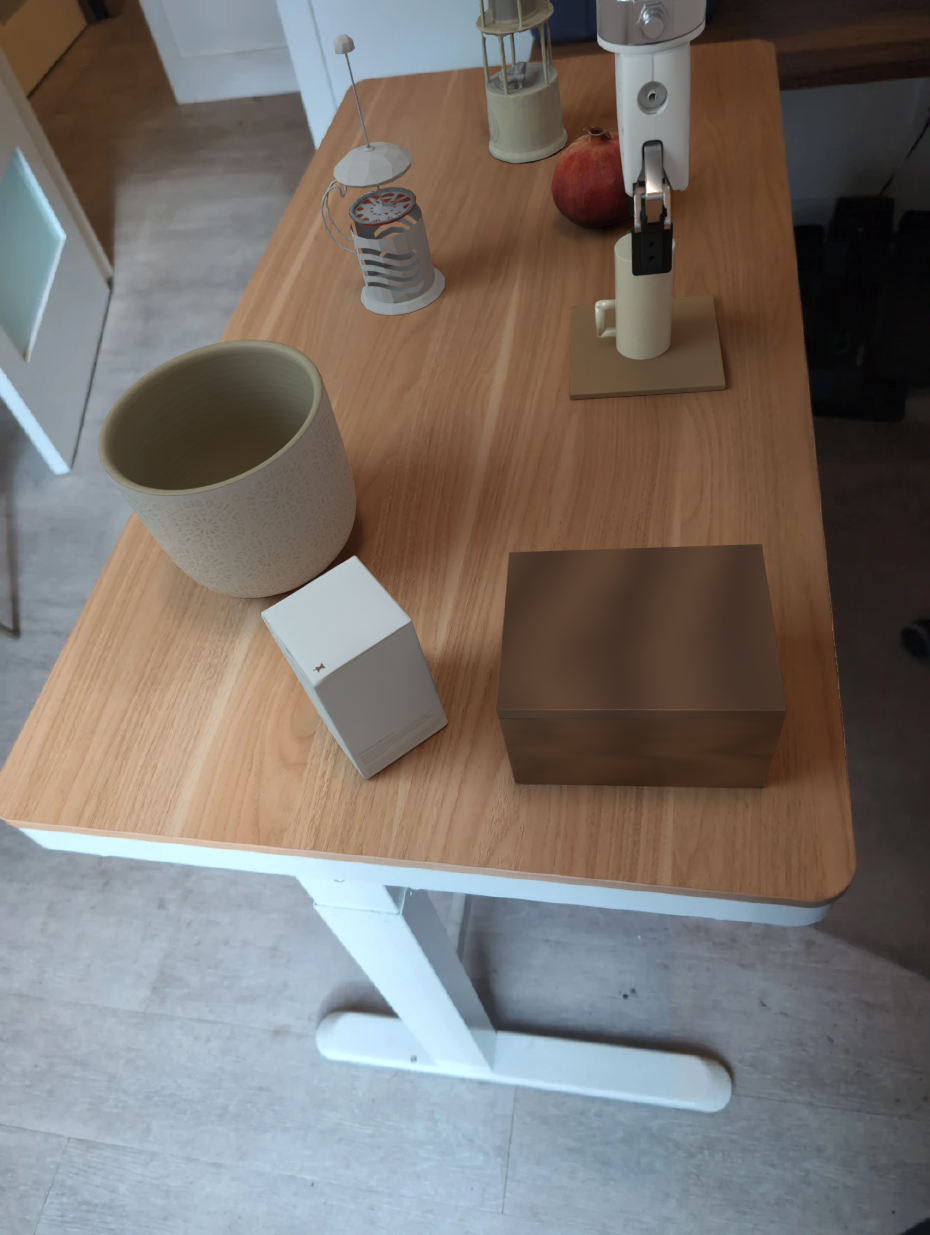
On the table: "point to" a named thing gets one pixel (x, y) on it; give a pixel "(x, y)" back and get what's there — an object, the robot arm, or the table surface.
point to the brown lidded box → (640, 667)
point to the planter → (235, 466)
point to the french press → (400, 272)
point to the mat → (675, 371)
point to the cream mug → (638, 307)
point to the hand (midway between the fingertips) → (649, 241)
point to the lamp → (521, 85)
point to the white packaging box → (359, 665)
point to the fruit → (591, 180)
